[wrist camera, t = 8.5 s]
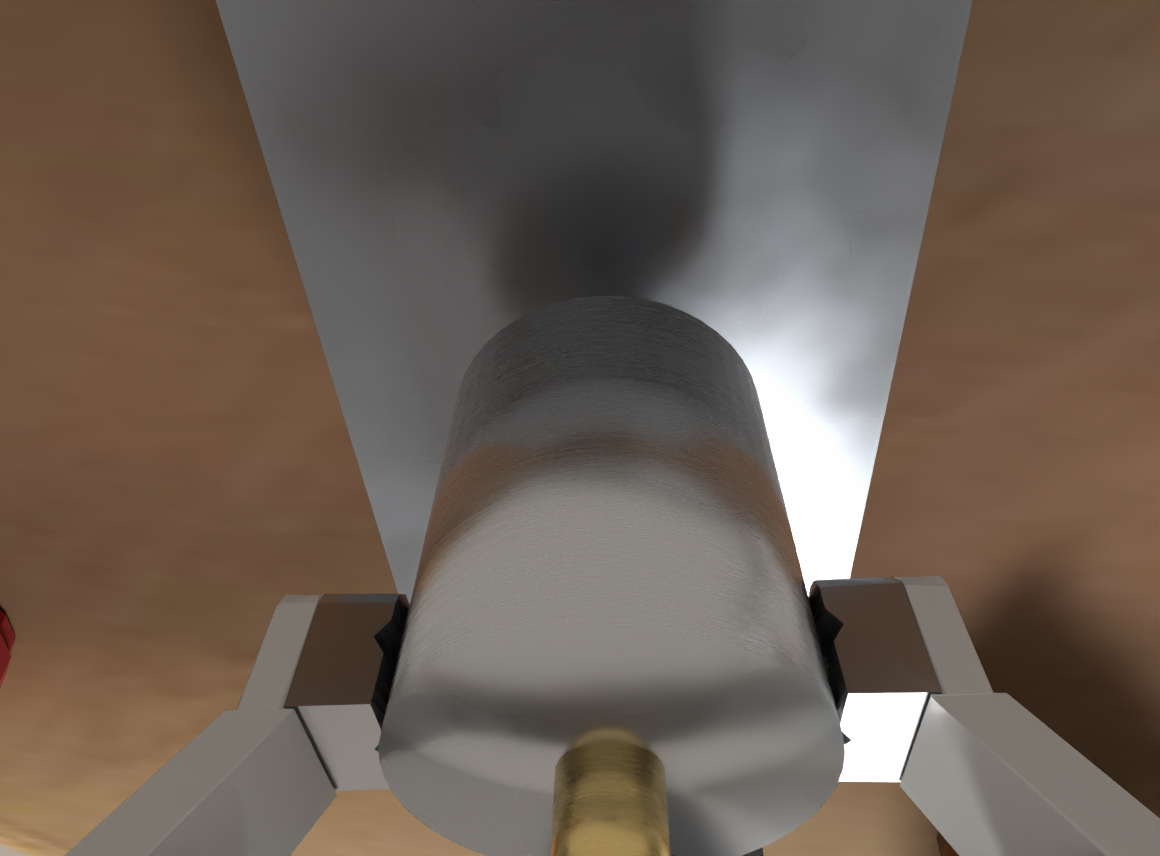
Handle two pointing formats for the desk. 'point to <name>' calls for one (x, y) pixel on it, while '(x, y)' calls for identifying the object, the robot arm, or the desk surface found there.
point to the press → (606, 205)
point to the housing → (610, 604)
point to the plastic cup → (5, 644)
